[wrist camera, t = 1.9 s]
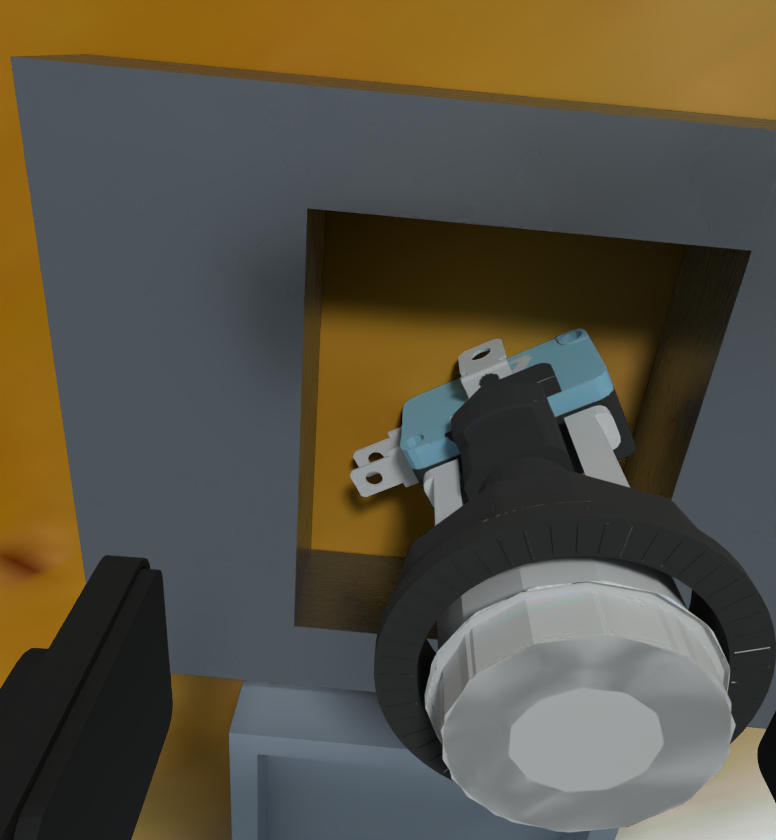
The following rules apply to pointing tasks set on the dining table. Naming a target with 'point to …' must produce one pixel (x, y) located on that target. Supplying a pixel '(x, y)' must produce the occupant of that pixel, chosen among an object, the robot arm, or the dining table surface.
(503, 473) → the push button
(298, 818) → the tray
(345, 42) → the dining table surface
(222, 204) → the block
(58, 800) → the robot arm
